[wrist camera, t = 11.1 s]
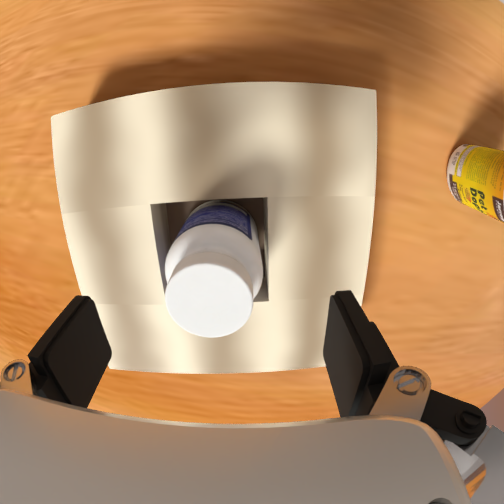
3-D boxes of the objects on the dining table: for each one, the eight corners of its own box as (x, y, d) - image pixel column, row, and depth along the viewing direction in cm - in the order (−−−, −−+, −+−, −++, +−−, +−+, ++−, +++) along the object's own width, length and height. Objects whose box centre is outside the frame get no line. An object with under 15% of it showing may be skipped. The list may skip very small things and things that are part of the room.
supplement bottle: (434, 180, 21) (522, 214, 11) (459, 131, 19) (547, 145, 9) (466, 213, 22) (542, 256, 12) (489, 168, 20) (567, 194, 11)
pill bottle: (170, 222, 20) (127, 281, 12) (234, 184, 19) (228, 222, 11) (209, 280, 22) (193, 361, 14) (270, 248, 21) (288, 321, 13)
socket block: (349, 97, 18) (376, 89, 14) (335, 330, 26) (349, 363, 22) (83, 117, 18) (51, 116, 14) (124, 337, 25) (109, 368, 21)
